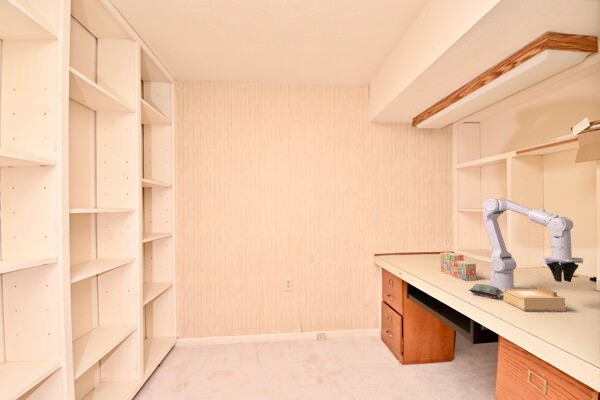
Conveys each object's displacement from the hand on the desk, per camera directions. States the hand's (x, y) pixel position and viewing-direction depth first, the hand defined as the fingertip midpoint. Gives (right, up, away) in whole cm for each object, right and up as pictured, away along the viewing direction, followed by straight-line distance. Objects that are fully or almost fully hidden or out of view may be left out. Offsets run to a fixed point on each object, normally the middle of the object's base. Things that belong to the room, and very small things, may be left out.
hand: (562, 281), depth 106 cm
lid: (-12, -6, 0) cm, 13 cm away
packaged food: (-20, -11, +14) cm, 27 cm away
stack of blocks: (-14, -12, +48) cm, 52 cm away
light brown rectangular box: (-12, -10, 0) cm, 16 cm away
